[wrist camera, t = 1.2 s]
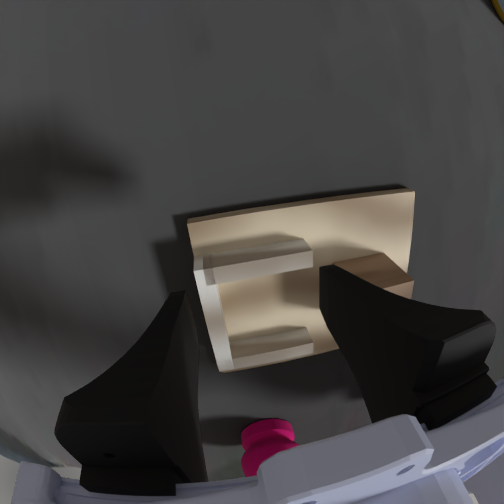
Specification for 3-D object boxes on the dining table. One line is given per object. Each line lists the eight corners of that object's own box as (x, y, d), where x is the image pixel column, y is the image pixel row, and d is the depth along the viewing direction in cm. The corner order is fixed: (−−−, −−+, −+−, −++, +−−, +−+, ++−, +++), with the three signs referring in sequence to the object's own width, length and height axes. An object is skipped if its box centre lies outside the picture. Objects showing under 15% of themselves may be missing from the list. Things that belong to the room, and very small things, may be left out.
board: (391, 325, 28) (405, 344, 26) (221, 365, 27) (224, 389, 24) (407, 188, 22) (430, 199, 19) (187, 218, 21) (185, 235, 18)
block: (378, 298, 25) (404, 330, 21) (330, 310, 25) (352, 346, 21) (383, 252, 23) (414, 280, 19) (332, 262, 23) (357, 295, 19)
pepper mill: (226, 428, 32) (252, 586, 14) (284, 408, 31) (333, 570, 13) (251, 450, 35) (279, 582, 17) (302, 432, 34) (346, 566, 17)
